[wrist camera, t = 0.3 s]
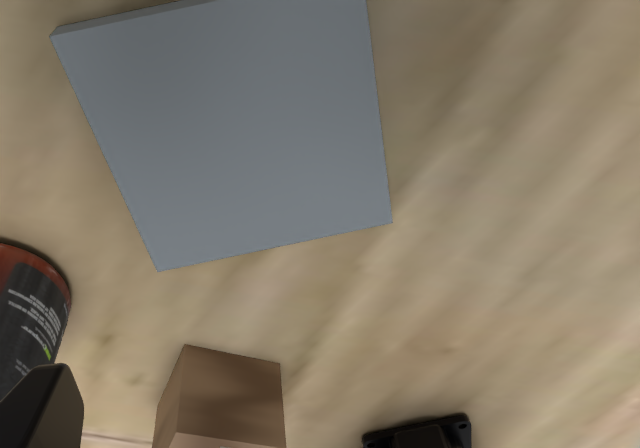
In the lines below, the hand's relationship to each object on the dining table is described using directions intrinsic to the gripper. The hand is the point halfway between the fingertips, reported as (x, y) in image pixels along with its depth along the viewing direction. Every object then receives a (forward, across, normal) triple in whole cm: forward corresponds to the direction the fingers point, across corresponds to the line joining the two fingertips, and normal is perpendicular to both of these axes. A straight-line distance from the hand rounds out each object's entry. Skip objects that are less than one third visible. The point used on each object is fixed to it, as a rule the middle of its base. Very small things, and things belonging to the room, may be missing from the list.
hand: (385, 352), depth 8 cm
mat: (+14, +2, +3) cm, 15 cm away
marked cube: (+14, +5, +18) cm, 23 cm away
